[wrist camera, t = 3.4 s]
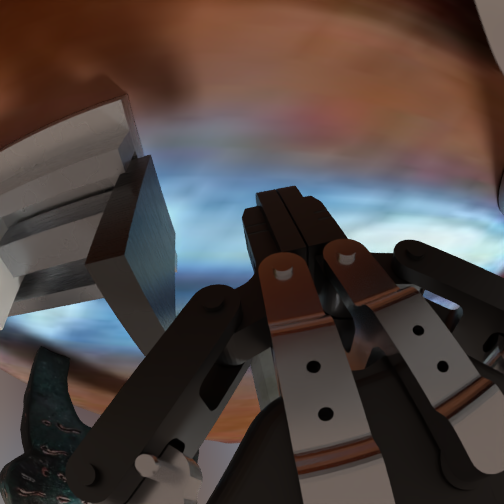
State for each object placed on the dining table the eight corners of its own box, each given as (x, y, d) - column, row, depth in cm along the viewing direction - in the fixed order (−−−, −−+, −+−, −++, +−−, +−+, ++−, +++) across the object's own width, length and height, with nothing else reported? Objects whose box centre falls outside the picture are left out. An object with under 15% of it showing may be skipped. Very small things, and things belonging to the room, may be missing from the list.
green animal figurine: (17, 355, 22) (1, 542, 7) (29, 326, 20) (6, 556, 5) (172, 411, 33) (193, 560, 18) (204, 394, 31) (235, 563, 16)
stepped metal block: (150, 154, 12) (124, 254, 7) (175, 233, 15) (176, 351, 10) (0, 208, 12) (-62, 304, 6) (35, 269, 15) (-1, 369, 9)
